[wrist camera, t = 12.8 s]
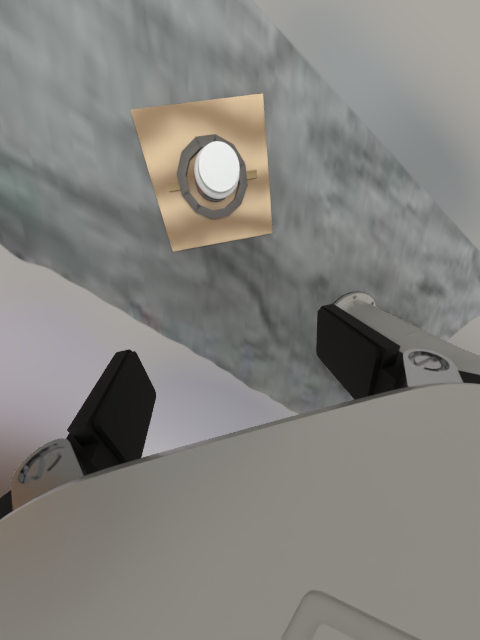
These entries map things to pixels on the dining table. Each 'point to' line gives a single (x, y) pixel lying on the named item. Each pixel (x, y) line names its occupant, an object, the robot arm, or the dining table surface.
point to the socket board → (179, 158)
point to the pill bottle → (216, 171)
